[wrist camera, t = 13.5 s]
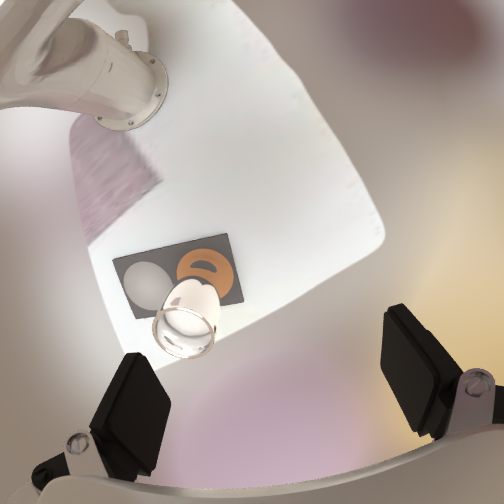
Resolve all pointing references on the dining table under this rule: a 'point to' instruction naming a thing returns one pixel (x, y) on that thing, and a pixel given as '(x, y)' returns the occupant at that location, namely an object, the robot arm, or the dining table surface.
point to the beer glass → (191, 310)
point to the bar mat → (173, 273)
